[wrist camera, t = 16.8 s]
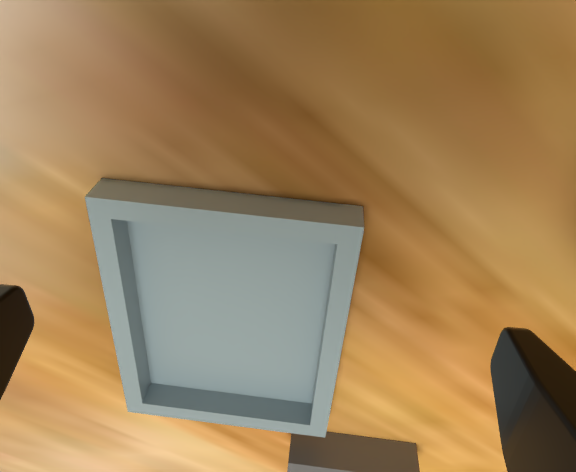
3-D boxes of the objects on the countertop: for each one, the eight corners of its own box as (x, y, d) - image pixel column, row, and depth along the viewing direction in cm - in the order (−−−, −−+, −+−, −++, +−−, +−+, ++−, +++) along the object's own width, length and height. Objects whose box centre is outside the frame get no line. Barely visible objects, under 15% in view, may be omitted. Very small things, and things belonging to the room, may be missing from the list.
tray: (362, 200, 22) (364, 227, 20) (326, 404, 30) (325, 437, 28) (106, 172, 22) (84, 196, 21) (141, 381, 31) (128, 411, 29)
